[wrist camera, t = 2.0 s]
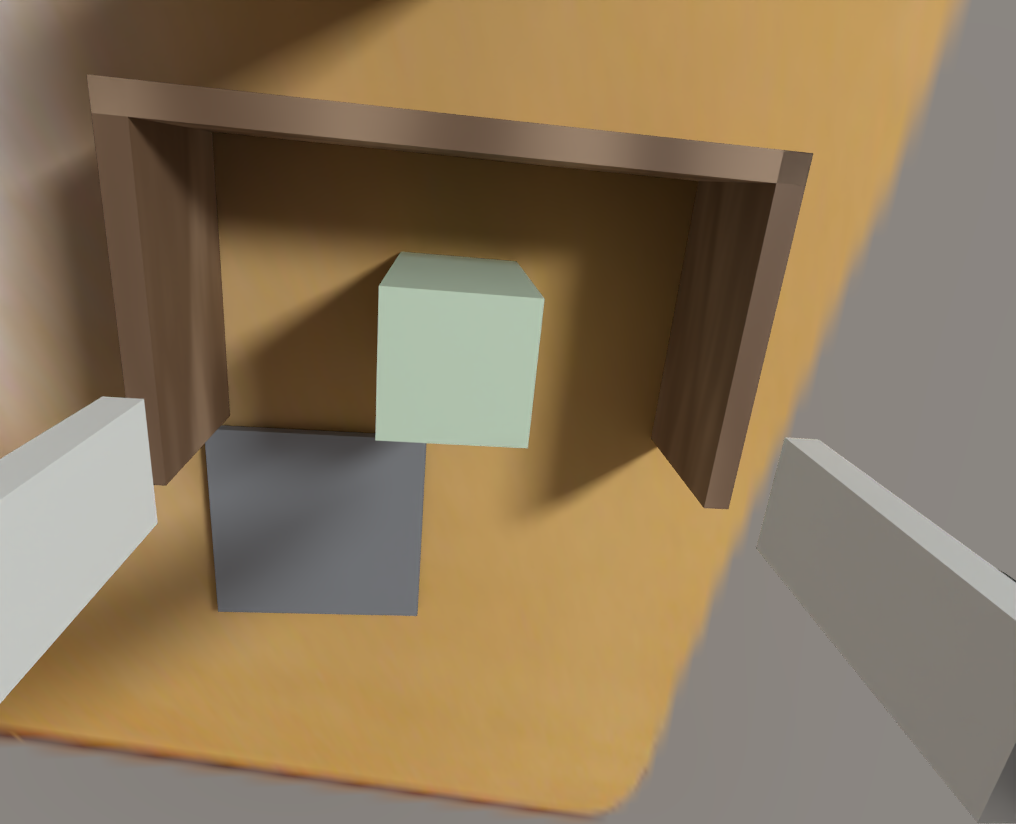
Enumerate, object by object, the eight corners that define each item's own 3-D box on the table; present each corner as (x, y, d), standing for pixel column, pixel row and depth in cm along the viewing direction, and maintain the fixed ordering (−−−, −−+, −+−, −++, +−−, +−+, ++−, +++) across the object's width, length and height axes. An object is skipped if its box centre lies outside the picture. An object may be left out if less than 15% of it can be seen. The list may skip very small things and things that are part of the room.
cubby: (207, 414, 29) (136, 484, 22) (183, 101, 25) (86, 74, 18) (670, 439, 31) (728, 509, 25) (725, 158, 27) (813, 153, 20)
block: (397, 363, 29) (375, 440, 21) (400, 251, 27) (378, 285, 19) (506, 370, 30) (527, 448, 21) (516, 261, 28) (544, 298, 19)
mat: (221, 605, 33) (218, 611, 32) (207, 424, 29) (203, 428, 29) (417, 609, 34) (417, 615, 33) (426, 436, 30) (426, 440, 30)
